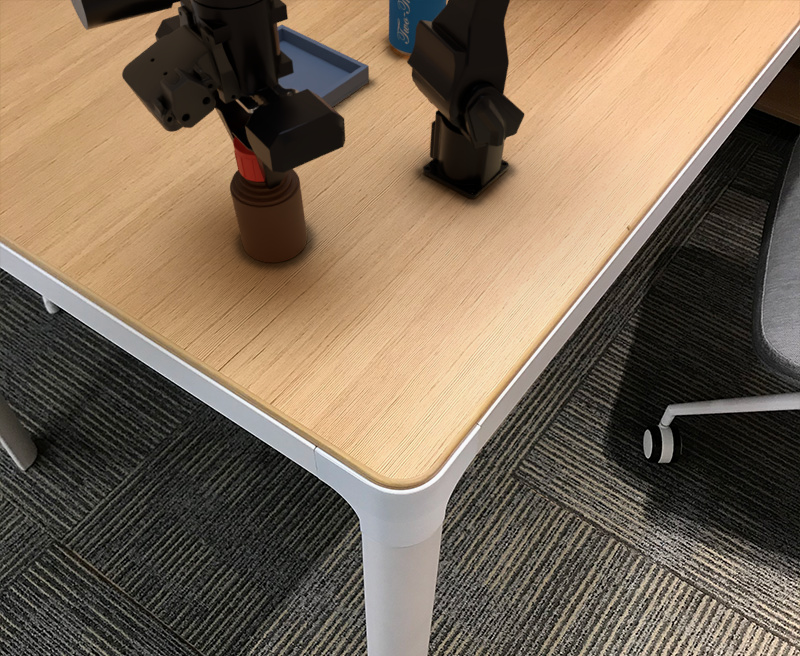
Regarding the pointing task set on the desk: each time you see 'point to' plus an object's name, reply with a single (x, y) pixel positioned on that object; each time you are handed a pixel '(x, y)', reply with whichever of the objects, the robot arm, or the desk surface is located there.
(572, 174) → the desk surface
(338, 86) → the tray
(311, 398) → the desk surface
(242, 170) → the cap
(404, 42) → the beverage can
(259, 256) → the bottle
